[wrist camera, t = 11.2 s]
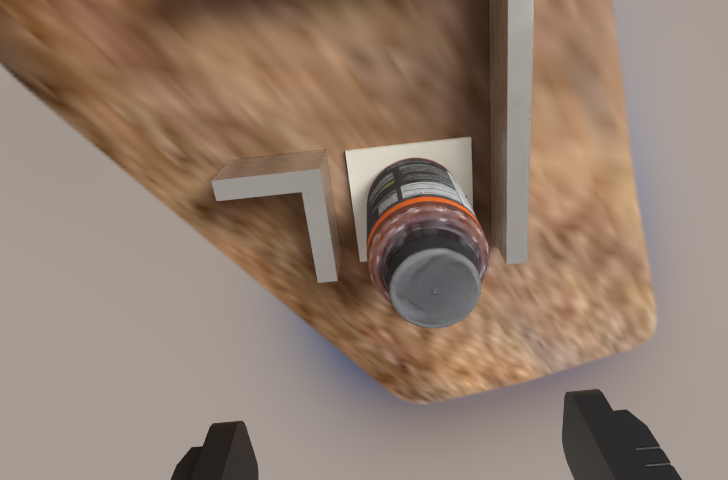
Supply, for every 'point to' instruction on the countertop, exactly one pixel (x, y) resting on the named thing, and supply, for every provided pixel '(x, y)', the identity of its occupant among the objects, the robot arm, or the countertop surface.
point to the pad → (376, 159)
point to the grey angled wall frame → (507, 144)
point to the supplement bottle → (424, 243)
